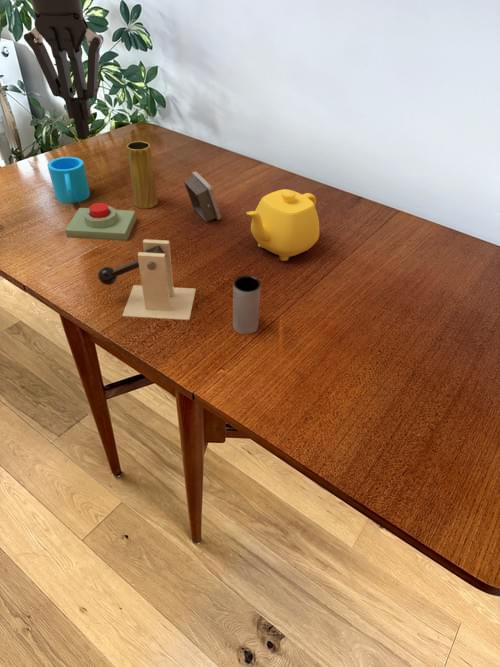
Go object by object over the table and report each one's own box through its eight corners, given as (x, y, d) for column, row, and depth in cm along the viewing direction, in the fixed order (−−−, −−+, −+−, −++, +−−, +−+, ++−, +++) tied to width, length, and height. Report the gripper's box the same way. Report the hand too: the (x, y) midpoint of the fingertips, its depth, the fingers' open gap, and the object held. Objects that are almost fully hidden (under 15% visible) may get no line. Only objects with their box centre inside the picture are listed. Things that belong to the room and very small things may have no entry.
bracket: (122, 320, 83) (110, 260, 74) (134, 289, 89) (124, 231, 81) (189, 324, 83) (185, 265, 74) (196, 293, 89) (193, 235, 81)
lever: (103, 290, 82) (92, 277, 80) (108, 280, 84) (97, 266, 83) (165, 266, 78) (154, 251, 76) (168, 256, 80) (158, 241, 78)
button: (88, 218, 101) (86, 211, 100) (93, 209, 104) (92, 202, 103) (106, 219, 101) (105, 212, 100) (111, 210, 104) (110, 203, 103)
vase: (131, 209, 112) (122, 150, 102) (135, 197, 117) (126, 139, 107) (156, 209, 113) (150, 150, 103) (159, 197, 117) (153, 140, 107)
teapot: (332, 246, 103) (342, 193, 95) (266, 279, 93) (270, 223, 85) (289, 221, 111) (294, 170, 102) (223, 249, 101) (223, 195, 92)
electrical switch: (222, 220, 110) (218, 184, 103) (202, 227, 108) (197, 190, 102) (206, 203, 116) (201, 168, 109) (187, 209, 114) (181, 174, 108)
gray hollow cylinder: (232, 337, 81) (232, 291, 74) (233, 320, 84) (233, 274, 77) (258, 338, 81) (261, 292, 74) (257, 321, 84) (260, 275, 77)
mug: (55, 189, 118) (47, 158, 112) (89, 186, 120) (82, 155, 114) (56, 212, 110) (47, 179, 104) (92, 208, 112) (85, 176, 106)
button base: (67, 238, 102) (63, 222, 99) (81, 216, 109) (77, 200, 106) (126, 242, 102) (123, 226, 99) (136, 219, 109) (134, 203, 106)
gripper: (0, -17, 70) (42, 141, 86) (86, -13, 69) (112, 145, 86) (21, -23, 75) (57, 127, 91) (100, -19, 75) (123, 131, 91)
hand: (84, 136), depth 88 cm, fingers closed
